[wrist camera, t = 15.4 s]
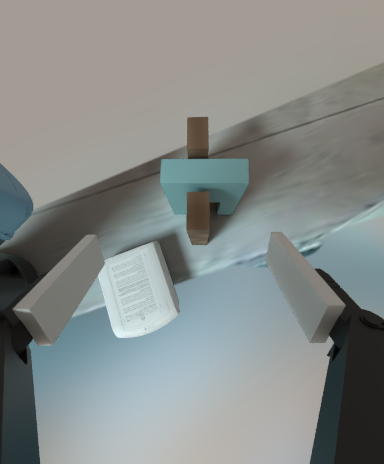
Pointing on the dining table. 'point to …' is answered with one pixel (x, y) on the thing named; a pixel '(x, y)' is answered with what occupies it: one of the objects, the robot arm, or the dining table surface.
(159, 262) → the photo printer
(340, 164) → the dining table surface
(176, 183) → the teal slotted plate
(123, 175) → the dining table surface
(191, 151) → the walnut slotted board
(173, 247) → the dining table surface
